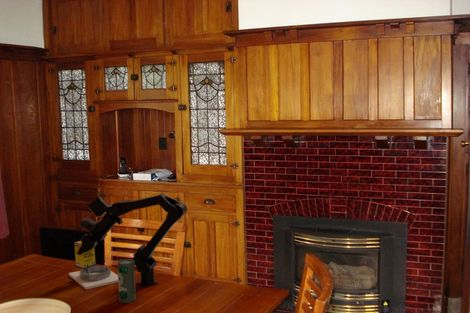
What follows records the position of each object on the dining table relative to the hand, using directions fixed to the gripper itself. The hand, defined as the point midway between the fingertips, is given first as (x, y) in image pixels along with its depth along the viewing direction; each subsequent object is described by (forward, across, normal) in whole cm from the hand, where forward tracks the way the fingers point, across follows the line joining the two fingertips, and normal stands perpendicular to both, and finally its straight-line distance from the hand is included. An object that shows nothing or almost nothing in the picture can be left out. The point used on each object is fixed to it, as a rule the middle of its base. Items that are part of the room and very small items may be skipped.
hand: (81, 251), depth 220 cm
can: (-7, +20, +27) cm, 34 cm away
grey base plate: (+7, -4, +12) cm, 15 cm away
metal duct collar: (+7, -4, +12) cm, 15 cm away
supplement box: (+4, 0, +6) cm, 7 cm away
